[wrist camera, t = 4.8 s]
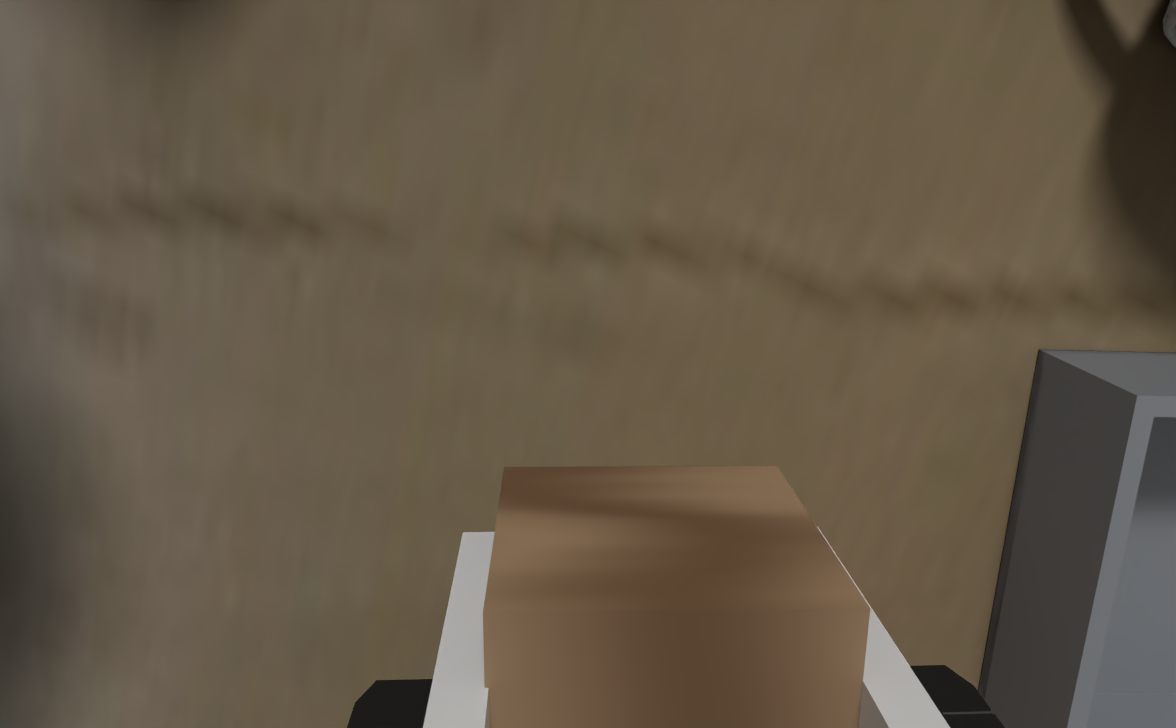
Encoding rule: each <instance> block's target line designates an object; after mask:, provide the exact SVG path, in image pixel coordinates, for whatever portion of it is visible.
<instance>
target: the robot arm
mask: <svg viewBox="0 0 1176 728" xmlns="http://www.w3.org/2000/svg"><path fill="white" fill-rule="evenodd" d="M817 528H818V527H817ZM818 529H819V528H818ZM819 531H820V529H819ZM820 532H821V531H820ZM494 533H495V532H463V534H462V539H461V544H460V549H459V554H458V559H457V564H456V569H455V573H454V578H453V583H452V588H451V593H450V598H449V603H448V608H447V613H446V617H445V622H444V627H443V632H442V637H441V642H440V647H439V652H438V656H437V661H436V666H435V671H434V676H433V679H418V680H376V681H375V683H374V684H373V685H372V686H371V687H370V688H369V689H368V690H367V691H366V692H365V693H364V694H363V695H362V696H361V697H360V698H359V699H358V700H357V701H356V702H355V705H354V708H353V711H352V714H351V717H350V720H349V723H348V726H347V728H490V720H489V688H485V685H484V639H483V608H484V601H485V594H486V588H487V581H488V574H489V567H490V560H491V554H492V547H493V540H494ZM821 534H822V532H821ZM822 535H823V534H822ZM823 537H824V535H823ZM824 538H825V537H824ZM825 540H826V538H825ZM826 541H827V540H826ZM827 543H828V541H827ZM828 545H829V546H830V544H829V543H828ZM830 548H831V549H832V547H831V546H830ZM832 551H833V552H834V550H833V549H832ZM834 554H835V552H834ZM835 555H836V554H835ZM836 557H837V555H836ZM837 558H838V557H837ZM838 560H839V558H838ZM839 561H840V560H839ZM840 563H841V561H840ZM841 564H842V563H841ZM842 566H843V564H842ZM843 567H844V566H843ZM844 569H845V567H844ZM845 570H846V569H845ZM846 572H847V570H846ZM847 573H848V572H847ZM848 575H849V573H848ZM849 577H850V578H851V576H850V575H849ZM851 580H852V581H853V579H852V578H851ZM853 583H854V584H855V582H854V581H853ZM855 586H856V587H857V585H856V584H855ZM857 589H858V590H859V588H858V587H857ZM859 592H860V593H861V591H860V590H859ZM861 595H862V596H863V594H862V593H861ZM863 598H864V596H863ZM864 599H865V598H864ZM865 601H866V599H865ZM866 602H867V601H866ZM867 604H868V602H867ZM868 605H869V604H868ZM869 607H870V605H869ZM858 728H1005V727H1004V726H1003V724H1002V723H1001V722H1000V720H999V719H998V718H997V716H996V715H995V714H992V712H991V708H990V707H989V706H988V704H987V703H986V702H985V700H984V699H983V698H982V696H981V695H980V694H979V692H978V691H977V690H976V688H975V687H974V686H973V685H972V684H970V683H969V682H968V681H966V680H965V679H963V678H962V677H961V676H959V675H958V674H956V673H955V672H954V671H952V670H951V669H949V668H948V667H947V666H945V665H931V666H909V664H908V663H907V661H906V660H905V658H904V657H903V655H902V654H901V652H900V651H899V649H898V648H897V646H896V645H895V643H894V642H893V640H892V638H891V637H890V635H889V634H888V632H887V631H886V629H885V628H884V626H883V625H882V623H881V622H880V620H879V619H878V617H877V616H876V614H875V613H874V611H873V610H872V608H871V607H870V617H869V627H868V637H867V646H866V656H865V666H864V675H863V685H862V695H861V704H860V714H859V724H858Z"/></svg>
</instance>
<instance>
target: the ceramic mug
mask: <svg viewBox="0 0 1176 728" xmlns="http://www.w3.org/2000/svg"><path fill="white" fill-rule="evenodd" d="M1163 32H1164V35H1165V36H1166V38H1167V39H1168V40H1169V41H1170V42H1171V44H1172V45H1173V46H1174V47H1175V48H1176V0H1170V3H1169V5H1168V8H1167V11H1166V14H1165V16H1164V19H1163Z"/></svg>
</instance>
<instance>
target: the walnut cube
mask: <svg viewBox="0 0 1176 728" xmlns="http://www.w3.org/2000/svg"><path fill="white" fill-rule="evenodd" d="M869 617H870V607H869V605H868V604H867V602H866V601H865V599H864V598H863V596H862V595H861V593H860V592H859V590H858V589H857V587H856V586H855V584H854V583H853V581H852V580H851V578H850V577H849V575H848V573H847V572H846V570H845V569H844V567H843V566H842V564H841V563H840V561H839V560H838V558H837V557H836V555H835V554H834V552H833V551H832V549H831V548H830V546H829V545H828V543H827V541H826V540H825V538H824V537H823V535H822V534H821V532H820V531H819V529H818V528H817V526H816V525H815V523H814V522H813V520H812V519H811V517H810V516H809V514H808V513H807V511H806V509H805V508H804V506H803V505H802V503H801V502H800V500H799V499H798V497H797V496H796V494H795V493H794V491H793V490H792V488H791V487H790V485H789V484H788V482H787V481H786V479H785V477H784V476H783V474H782V473H781V471H780V470H779V468H778V467H777V466H642V467H504V472H503V479H502V486H501V492H500V499H499V506H498V513H497V520H496V526H495V533H494V540H493V547H492V554H491V560H490V567H489V574H488V581H487V588H486V594H485V601H484V608H483V639H484V685H485V688H489V720H490V728H858V724H859V714H860V704H861V695H862V685H863V675H864V666H865V656H866V646H867V637H868V627H869Z"/></svg>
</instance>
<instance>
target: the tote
mask: <svg viewBox="0 0 1176 728" xmlns="http://www.w3.org/2000/svg"><path fill="white" fill-rule="evenodd" d="M978 692H979V694H980V695H981V696H982V698H983V699H984V700H985V702H986V703H987V704H988V706H989V707H990V708H991V712H992V714H995V715H996V716H997V718H998V719H999V720H1000V722H1001V723H1002V724H1003V726H1004V727H1005V728H1176V353H1161V352H1121V351H1081V350H1040V349H1039V353H1038V359H1037V364H1036V370H1035V376H1034V381H1033V387H1032V392H1031V398H1030V404H1029V409H1028V415H1027V420H1026V426H1025V432H1024V437H1023V443H1022V448H1021V454H1020V460H1019V465H1018V471H1017V476H1016V482H1015V488H1014V493H1013V499H1012V504H1011V510H1010V516H1009V521H1008V527H1007V533H1006V538H1005V544H1004V549H1003V555H1002V561H1001V566H1000V572H999V577H998V583H997V589H996V594H995V600H994V605H993V611H992V617H991V622H990V628H989V633H988V639H987V645H986V650H985V656H984V661H983V667H982V673H981V678H980V684H979V690H978Z"/></svg>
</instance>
